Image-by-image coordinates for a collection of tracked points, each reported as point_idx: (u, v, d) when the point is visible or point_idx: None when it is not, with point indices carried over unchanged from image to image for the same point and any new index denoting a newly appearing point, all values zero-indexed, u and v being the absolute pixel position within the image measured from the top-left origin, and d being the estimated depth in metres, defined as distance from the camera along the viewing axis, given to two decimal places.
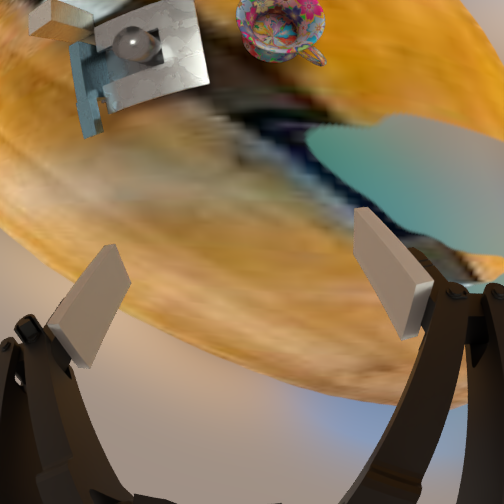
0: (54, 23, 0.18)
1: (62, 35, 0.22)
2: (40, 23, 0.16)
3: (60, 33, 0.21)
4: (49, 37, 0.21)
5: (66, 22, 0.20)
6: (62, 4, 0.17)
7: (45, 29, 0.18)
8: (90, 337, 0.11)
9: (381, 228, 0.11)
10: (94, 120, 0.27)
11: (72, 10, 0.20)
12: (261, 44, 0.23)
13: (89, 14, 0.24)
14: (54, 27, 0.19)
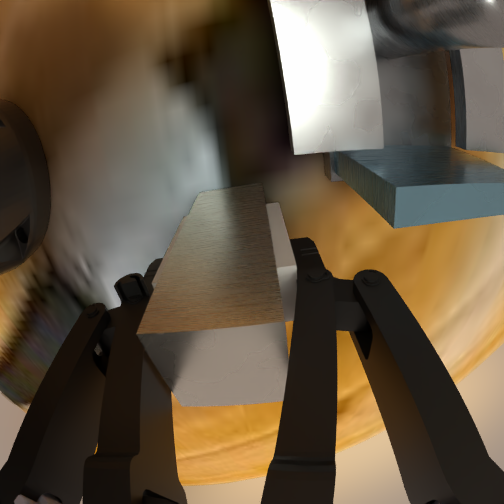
0: None
1: None
2: (267, 366, 0.08)
3: None
4: None
5: (264, 250, 0.10)
6: (172, 273, 0.09)
7: None
8: None
9: (277, 220, 0.13)
10: None
11: (197, 236, 0.12)
12: None
13: (202, 197, 0.16)
14: None
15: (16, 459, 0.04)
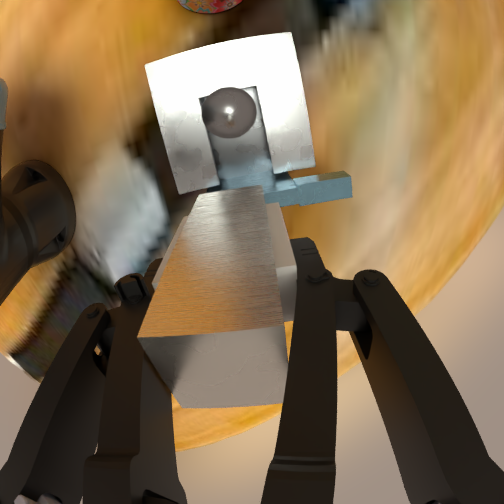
0: None
1: None
2: (267, 369, 0.08)
3: None
4: None
5: (264, 253, 0.10)
6: (172, 276, 0.10)
7: None
8: None
9: (277, 220, 0.13)
10: (331, 178, 0.24)
11: (196, 239, 0.12)
12: None
13: (202, 199, 0.16)
14: None
15: (16, 459, 0.04)
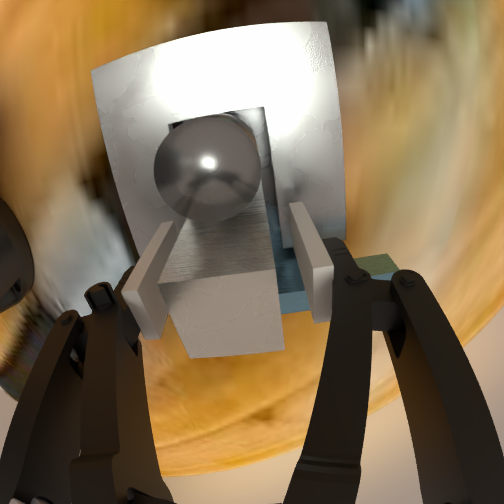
0: None
1: None
2: (263, 312, 0.10)
3: None
4: None
5: (260, 223, 0.12)
6: (185, 242, 0.12)
7: None
8: (159, 307, 0.12)
9: (304, 220, 0.13)
10: (371, 271, 0.15)
11: None
12: None
13: None
14: None
15: (6, 464, 0.03)
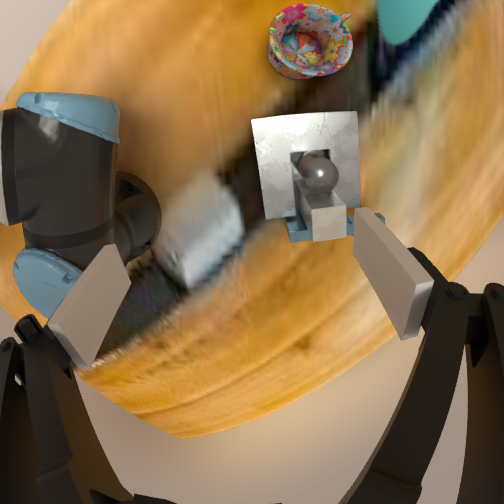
0: None
1: None
2: (341, 220, 0.30)
3: None
4: None
5: (334, 195, 0.33)
6: (310, 200, 0.32)
7: None
8: (90, 337, 0.11)
9: (381, 228, 0.11)
10: None
11: (309, 192, 0.34)
12: (344, 59, 0.24)
13: (298, 181, 0.39)
14: None
15: None
